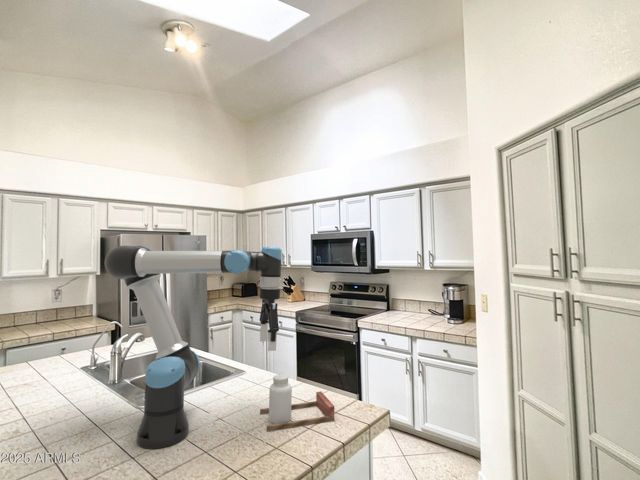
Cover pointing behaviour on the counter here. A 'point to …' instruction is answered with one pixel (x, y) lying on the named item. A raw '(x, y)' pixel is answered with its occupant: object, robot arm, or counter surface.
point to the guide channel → (324, 407)
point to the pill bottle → (280, 400)
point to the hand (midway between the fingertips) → (267, 345)
